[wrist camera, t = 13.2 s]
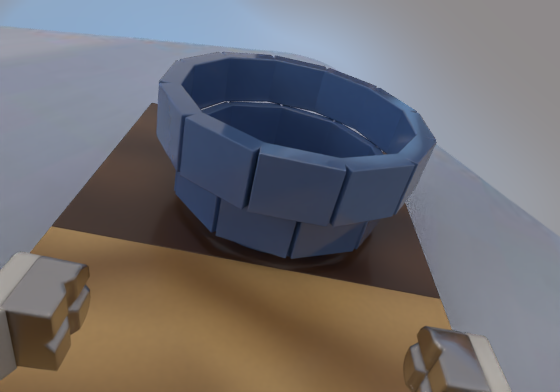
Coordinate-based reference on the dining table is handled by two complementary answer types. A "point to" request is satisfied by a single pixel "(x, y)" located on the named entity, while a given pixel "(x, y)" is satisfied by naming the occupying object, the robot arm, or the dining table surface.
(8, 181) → the dining table surface
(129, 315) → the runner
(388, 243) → the mat
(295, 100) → the bowl
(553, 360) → the dining table surface
